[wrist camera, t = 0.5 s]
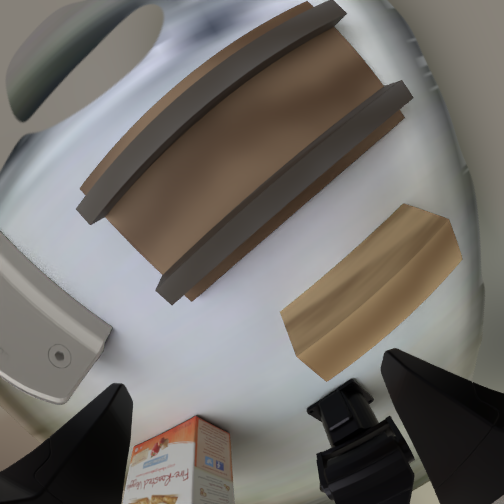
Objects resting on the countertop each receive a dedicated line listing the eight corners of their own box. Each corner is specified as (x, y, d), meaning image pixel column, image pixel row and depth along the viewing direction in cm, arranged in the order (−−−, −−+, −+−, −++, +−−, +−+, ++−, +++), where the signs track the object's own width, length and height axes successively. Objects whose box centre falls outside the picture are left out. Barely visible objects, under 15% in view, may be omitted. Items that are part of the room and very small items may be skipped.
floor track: (397, 118, 18) (424, 115, 15) (192, 295, 21) (188, 319, 18) (303, 6, 14) (316, -15, 11) (85, 186, 17) (62, 193, 14)
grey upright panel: (116, 329, 22) (69, 424, 13) (104, 347, 24) (65, 427, 16) (-8, 222, 17) (-72, 286, 9) (-7, 251, 19) (-60, 311, 11)
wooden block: (419, 236, 22) (462, 259, 16) (306, 336, 24) (326, 381, 18) (402, 203, 21) (448, 219, 15) (279, 310, 23) (296, 356, 17)
